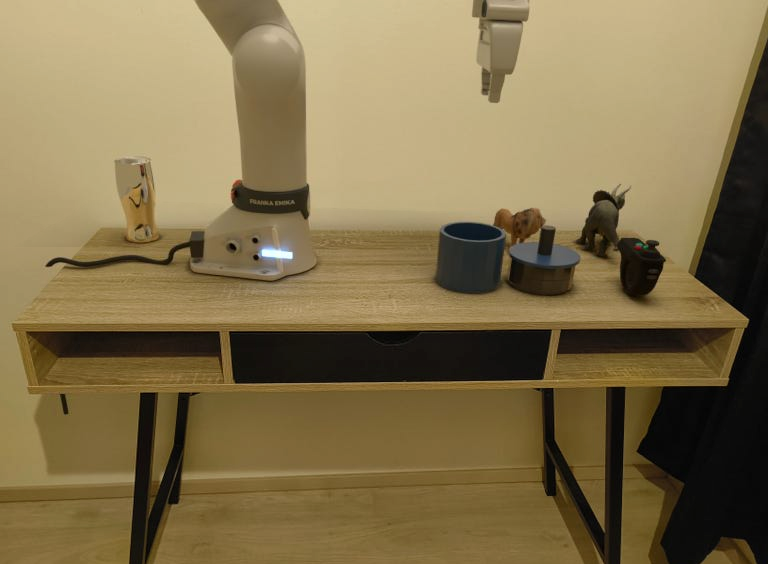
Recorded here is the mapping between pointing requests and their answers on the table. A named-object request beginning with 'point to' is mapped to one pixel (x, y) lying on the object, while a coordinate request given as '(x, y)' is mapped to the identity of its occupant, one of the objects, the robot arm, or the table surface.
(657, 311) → the table surface
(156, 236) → the beer glass
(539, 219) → the lion figurine
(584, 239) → the toy dinosaur
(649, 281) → the controller
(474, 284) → the pot
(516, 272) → the pan
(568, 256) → the lid
